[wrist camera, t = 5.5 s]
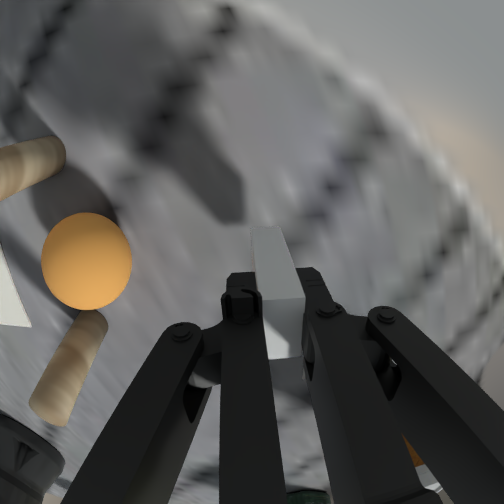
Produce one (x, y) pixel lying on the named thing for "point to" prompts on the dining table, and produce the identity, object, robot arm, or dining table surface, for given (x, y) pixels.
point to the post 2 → (68, 368)
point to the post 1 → (29, 163)
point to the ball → (86, 261)
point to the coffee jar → (308, 498)
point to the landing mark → (10, 298)
